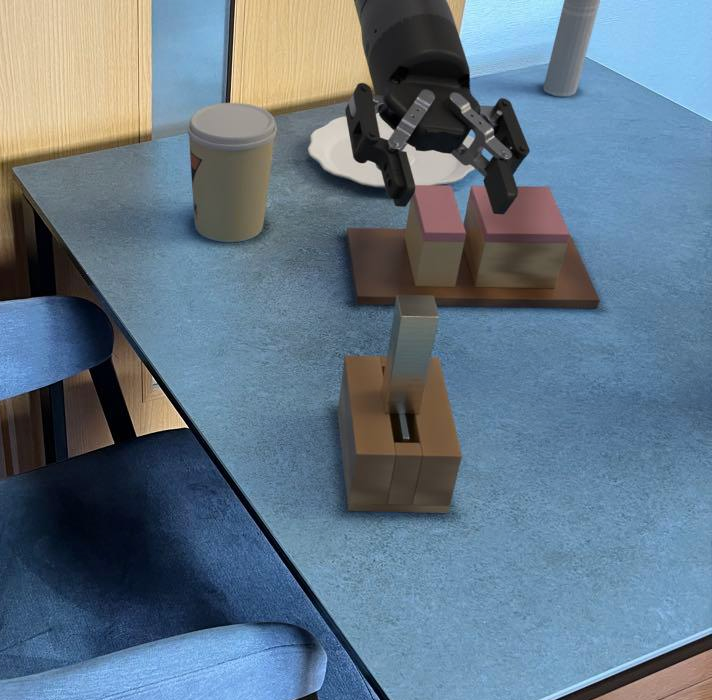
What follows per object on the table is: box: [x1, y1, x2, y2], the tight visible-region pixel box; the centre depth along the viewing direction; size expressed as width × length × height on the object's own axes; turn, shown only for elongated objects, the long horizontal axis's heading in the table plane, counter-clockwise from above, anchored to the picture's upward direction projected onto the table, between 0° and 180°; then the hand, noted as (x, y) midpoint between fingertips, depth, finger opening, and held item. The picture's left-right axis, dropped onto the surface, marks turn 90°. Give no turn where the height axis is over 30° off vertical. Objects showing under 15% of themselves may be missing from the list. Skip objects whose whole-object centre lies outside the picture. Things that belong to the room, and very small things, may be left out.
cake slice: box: [405, 184, 466, 287], centre depth 106 cm, size 4×10×6 cm, turn 177°
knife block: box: [337, 355, 463, 514], centre depth 85 cm, size 8×13×6 cm, turn 177°
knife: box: [381, 295, 440, 443], centre depth 81 cm, size 3×9×14 cm, turn 177°
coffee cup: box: [187, 102, 278, 243], centre depth 112 cm, size 9×9×12 cm
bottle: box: [543, 0, 601, 98], centre depth 134 cm, size 4×4×20 cm
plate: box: [307, 113, 476, 189], centre depth 126 cm, size 21×21×2 cm
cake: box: [346, 185, 601, 309], centre depth 106 cm, size 24×14×7 cm, turn 87°
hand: (456, 203), depth 79 cm, fingers open, 8 cm apart
